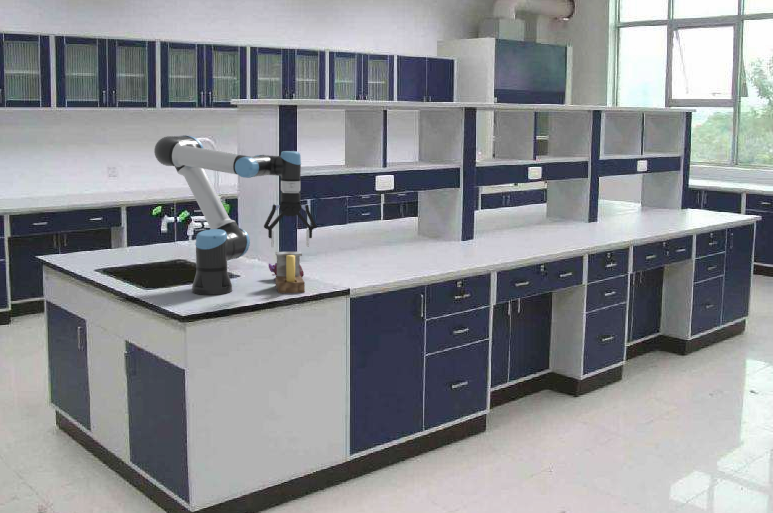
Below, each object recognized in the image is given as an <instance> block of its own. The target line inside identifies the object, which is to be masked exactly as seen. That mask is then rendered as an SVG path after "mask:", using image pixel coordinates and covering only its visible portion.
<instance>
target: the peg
mask: <svg viewBox="0 0 773 513" xmlns="http://www.w3.org/2000/svg"><path fill="white" fill-rule="evenodd" d="M286 282H295V255H287V256H286Z"/></svg>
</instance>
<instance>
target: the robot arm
mask: <svg viewBox="0 0 773 513" xmlns="http://www.w3.org/2000/svg"><path fill="white" fill-rule="evenodd" d="M154 156H155V158H156V160H157V162H159V163H160V164H161V165H163V166H166V167H174V168H175V169H176V172H177V174H178V175H181V176H183V177H184V179H185V182H186V183H187V185H188V187H189V189H190V191H191V193H192V195H193V196H194V199H195V201H196V203H197V204H198V206H199V209H200V211H201V213H202V214H203V216H204V219H205V220H206V223H207V225H208V226H209V229H205V230H202V231H199V232H198V233H197V234H196V236H195V258H196V259H195V260H196V262H195V264H196V265H195V267H196V272H195V276H194V280H193V282H192V285H191V286H192V288H191V289H192V290H191V291H192V293H193V294H196V295H202V296H203V295H204V296H205V295H206V296H214V295H215V296H216V295H217V296H218V295H224V294H229V293H231V292H232V291H233V284H232V281H231V279H230V276H229V273H228V272H229V271H228V261H230V260H231V261H232V260H236V259H237V260H238V259H239V258H241V257H243V256H245V255H246V254H247V253H248V251H249V248H250V245H251V242H250V240H251V239H250V236H249V234H248V232H247V231H246V230H245V229H243V228H241V227H239V225H238V223H237V222H236V220H234V219H231V218H230V216H229V215H228V212H227V210H226V208H225V206H224V205H223V203H222V201H221V199H220V196H219V195H218V193H217V191H216V188H215V187H214V185H213V183H212V181H211V179H210V177H209V175H208V172H207V171H206V170H209V171H215V172H220V173H225V174H226V173H227V174H233V175H238V176H239V177H241V178H245V179H246V178H247V179H248V178H249V179H250V178H255V177H256V178H257V177H262V176H263V177H264V176H277V177H278V176H280V191H281V192H280V203H279V204H275V203H273V204H272V205H271V210H270V213H269V215H268V217H267V218H266V219H265V220H266V221H265V222H264V224H263V228H264V229H266V230H267V232H268V236H267V237H268V239H270V240H271V243H270V246H271V248H275V243H274V242H275V241H274V239H275V236H274V235H275V230H274V228H275V227H276V225H277V224H278V223H279V222H280V221H281V219H282V218H283V217H285V216H286V217H296V216H298V218H299V219H300V220H301V221H302V222H303V224H304V225H305V226H306V227H307V228H308V229H306V233H305V234H306V238H305V239H306V241H305V242H306V243H305V245H306V247H307V248H309V247H310V239H312V237H313V230H314V229H315V230H316V229H317V228H318V225H317V223H316V222H315V220H314V217H313V216H312V214H311V211H310V208H309V207H310V206H309V205H308V204H307V203H306V204H302V203H301V179H302V178H301V173H302V172H301V169H302V167H301V165H302V158H301V152H299V151H296V150H291V151H290V150H284V151H281V153H280V155H269V154H268V155H267V154H257V155H254V156H251V155H244V154H235V153H231V152H227V151H226V152H225V151H219V150H213V149H210V148H209V149H207V148H204V146H203V143H202V142H201V141H200V140H199V139H197V137H195V136H191V135H187V134H185V135H176V136H175V135H174V136H173V135H171V136H169V135H168V136H164V137H161V138H160V139H159V140H158V141H157V142H156V144H155V146H154ZM278 210H280V213H279V214H278V215H277V217H276V218H275V219H274V220H273V221H272V222H271V220H272V219H273V218H274V215H275V213H276V211H278ZM301 210H304V211H305V213H306V215H307V217H308V219H309V221H310V223H311V225H310V224H309V222H308V221H307V220H306V218H304V216H303V215H302V214H301V213H300V211H301ZM270 223H271V224H270Z"/></svg>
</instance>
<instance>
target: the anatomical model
mask: <svg viewBox="0 0 773 513" xmlns="http://www.w3.org/2000/svg"><path fill="white" fill-rule="evenodd" d="M267 266H268V268H269V271H270V272H271V273H273V274H271V276H275V277H274V280H275V281H276V276H277V262H275V263H274V264H272V263H268V265H267ZM300 275H301V277H302V278H303V277H305V276H304V275H305V274H304V270H303V267H302V266H301V264H300Z"/></svg>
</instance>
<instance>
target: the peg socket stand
mask: <svg viewBox="0 0 773 513" xmlns="http://www.w3.org/2000/svg"><path fill="white" fill-rule="evenodd" d="M274 253H275V256H276V263H277V276H276V275H275V278H276V280H275V287H276V290H277V292H278V294H294V293H295V294H296V293H299V294H300V293H305V285H306V284H305V280H304V279H303V277H301V275H300V265H301V264H300V263H301V262H300V257H302V256H303V253H302V251H275V252H274ZM287 255H295V282H286V256H287Z"/></svg>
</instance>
